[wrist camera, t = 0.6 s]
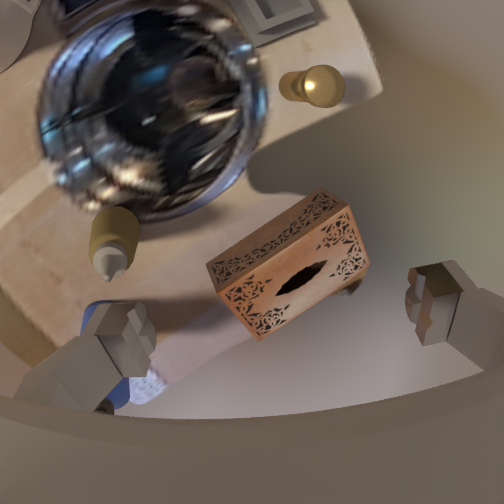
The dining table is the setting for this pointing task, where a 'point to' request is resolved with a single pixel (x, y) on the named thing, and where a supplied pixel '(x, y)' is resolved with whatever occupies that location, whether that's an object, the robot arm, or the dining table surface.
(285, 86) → the gold stepped cylinder
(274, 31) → the socket block
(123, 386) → the water bottle
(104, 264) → the squeeze bottle
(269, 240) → the tissue box cover
